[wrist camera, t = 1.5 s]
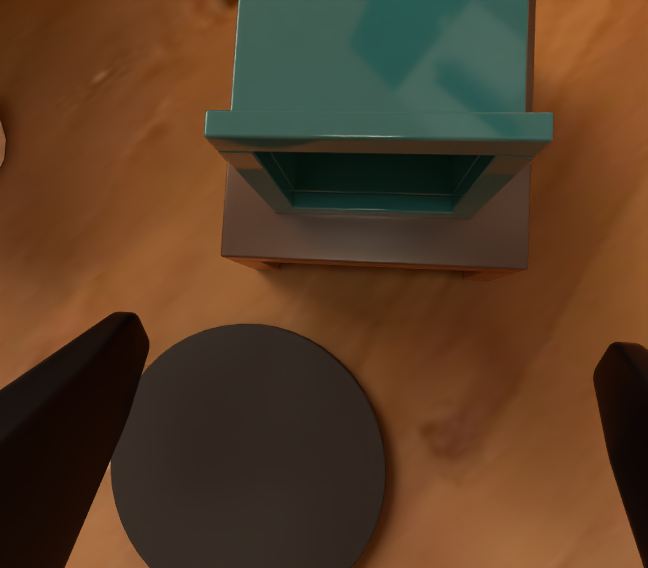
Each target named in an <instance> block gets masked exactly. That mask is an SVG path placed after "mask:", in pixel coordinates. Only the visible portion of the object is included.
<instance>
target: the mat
mask: <svg viewBox="0 0 648 568" xmlns="http://www.w3.org/2000/svg"><path fill="white" fill-rule="evenodd" d="M111 481H112V489H113V494H114V499H115V504H116V507H117V510H118V513H119V517H120V520H121V522H122V525H123V527H124V529H125V531H126V533H127V535H128V538H129V539H130V541H131V543H132V544H133V546H134V547H135V549H136V551H137V552H138V554H139V555H140V556H141V558H142V559H143V560H144V561H145V563H146V564H147V565H148V566H149V567H150V568H351V567H352V566H353V565H354V563H355V562H356V561H357V560H358V558H359V557H360V556H361V554H362V552H363V551H364V549H365V547H366V546H367V544H368V542H369V541H370V539H371V536H372V534H373V532H374V529H375V527H376V525H377V522H378V519H379V515H380V512H381V508H382V504H383V499H384V491H385V484H386V461H385V453H384V445H383V439H382V435H381V431H380V427H379V423H378V420H377V418H376V415H375V413H374V410H373V408H372V405H371V403H370V402H369V400H368V398H367V396H366V394H365V392H364V391H363V389H362V387H361V386H360V385H359V383H358V382H357V381H356V379H355V378H354V376H353V375H352V374H351V373H350V372H349V370H348V369H347V368H346V367H345V366H344V365H343V364H342V363H341V362H340V361H339V360H338V359H337V358H335V357H334V356H333V355H332V354H331V353H329V352H328V351H327V350H326V349H324V348H323V347H321V346H319V345H318V344H316V343H315V342H313V341H311V340H310V339H308V338H305V337H303V336H301V335H299V334H297V333H294V332H292V331H288V330H285V329H282V328H278V327H273V326H267V325H261V324H236V325H227V326H220V327H216V328H212V329H208V330H204V331H202V332H199V333H197V334H194V335H192V336H189V337H187V338H186V339H184V340H182V341H180V342H179V343H177V344H175V345H173V346H172V347H171V348H169V349H168V350H167V351H165V352H164V353H163V354H161V355H160V356H159V357H158V358H157V359H156V360H155V361H154V362H153V363H152V364H151V365H150V366H149V367H148V368H147V369H146V370H145V371H144V373H143V374H142V375H141V378H140V381H139V385H138V388H137V391H136V394H135V398H134V401H133V404H132V408H131V411H130V414H129V416H128V419H127V422H126V424H125V427H124V429H123V432H122V434H121V436H120V439H119V441H118V443H117V446H116V448H115V450H114V453H113V455H112V457H111Z"/></svg>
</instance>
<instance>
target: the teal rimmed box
mask: <svg viewBox="0 0 648 568" xmlns="http://www.w3.org/2000/svg"><path fill="white" fill-rule="evenodd" d="M528 16H529V0H238V11H237V25H236V39H235V53H234V66H233V80H232V94H231V108H230V110H207V111H206V112H205V124H204V137H205V138H206V139H207V140H208V141H209V142H210V143H211V145H212V146H213V147H214V148H215V149H216V150H218V152H219V153H220V154H221V155H222V157H223V158H224V159H225V160H226V161H227V162H228V163H229V164H230V165H231V166H232V167H233V168H234V169H235V170H236V171H237V172H238V173H239V174H240V175H241V177H242V178H243V179H244V180H245V181H246V182H247V183H248V184H249V185H250V186H251V187H252V188H253V189H254V190H255V191H256V192H257V193H258V194H259V196H260V197H261V198H262V199H263V200H264V201H265V202H266V203H267V204H268V205H269V206H270V207H271V208H272V209H273V210H274V211H275V212H276V213H293V214H324V215H354V216H385V217H416V218H446V219H471V218H472V217H473V216H474V215H475V214H476V213H477V212H478V211H479V210H480V209H481V208H482V207H483V206H484V205H485V204H487V203H488V202H489V201H490V200H491V199H492V198H493V197H494V196H495V195H496V194H497V193H498V192H499V191H500V190H501V189H502V188H504V187H505V186H506V185H507V184H508V183H509V182H510V181H511V180H512V179H513V178H514V177H515V176H516V175H517V174H518V173H519V172H520V171H522V170H523V169H524V168H525V167H526V166H527V165H528V164H529V163H530V162H531V161H532V160H533V159H534V158H535V157H536V155H538V154H540V153H541V152H542V151H543V150H544V149H545V148H546V147H547V146H548V145H549V144H550V143H551V142H552V141H553V129H554V114H553V113H551V112H526V82H527V49H528Z"/></svg>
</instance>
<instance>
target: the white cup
mask: <svg viewBox="0 0 648 568" xmlns="http://www.w3.org/2000/svg"><path fill="white" fill-rule="evenodd" d="M5 143H6V138H5V134H4V131H3V127H2V124H1V121H0V167H1V165H2V162H3V160H4V154H5Z"/></svg>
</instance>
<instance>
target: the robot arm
mask: <svg viewBox="0 0 648 568" xmlns="http://www.w3.org/2000/svg"><path fill="white" fill-rule="evenodd" d="M148 351H149V339H148V336H147V334H146V332H145V330H144V328H143V325H142V323H141V321H140V319H139V317H138V315H136V314H135V313H132V312H114V313H112V314H110V315H109V316H107V317H106V318H105V319H103V320H102V321H100V322H99V323H97V324H96V325H94V326H93V327H91V328H90V329H89V330H87V331H86V332H84V333H83V334H81V335H80V336H78V337H77V338H75V339H74V340H72V341H71V342H70V343H68V344H67V345H65V346H64V347H62V348H61V349H59V350H58V351H56V352H55V353H54V354H52V355H51V356H49V357H48V358H46V359H45V360H43V361H42V362H40V363H39V364H37V365H36V366H35V367H33V368H32V369H30V370H29V371H27V372H26V373H24V374H23V375H21V376H20V377H19V378H17V379H16V380H14V381H13V382H11V383H10V384H8V385H7V386H5V387H4V388H2V389H1V390H0V568H65V566H66V563H67V561H68V559H69V556H70V554H71V552H72V549H73V547H74V544H75V542H76V540H77V537H78V535H79V533H80V530H81V528H82V526H83V523H84V521H85V519H86V516H87V514H88V512H89V509H90V507H91V504H92V502H93V500H94V497H95V495H96V493H97V490H98V488H99V486H100V483H101V481H102V479H103V476H104V474H105V472H106V469H107V467H108V465H109V462H110V460H111V457H112V455H113V453H114V450H115V448H116V446H117V443H118V441H119V439H120V436H121V434H122V432H123V429H124V427H125V424H126V422H127V419H128V416H129V414H130V411H131V408H132V404H133V401H134V398H135V394H136V391H137V388H138V385H139V381H140V378H141V375H142V371H143V368H144V365H145V361H146V358H147V355H148ZM593 382H594V387H595V392H596V397H597V402H598V407H599V412H600V417H601V422H602V427H603V432H604V437H605V442H606V447H607V452H608V456H609V460H610V464H611V467H612V470H613V474H614V477H615V480H616V483H617V486H618V489H619V492H620V495H621V498H622V502H623V505H624V508H625V511H626V514H627V517H628V520H629V523H630V526H631V529H632V532H633V536H634V539H635V542H636V545H637V548H638V551H639V554H640V557H641V560H642V563H643V566H644V568H648V350H647V349H646V348H645V347H643V346H642V345H640V344H637V343H628V342H614V343H612V344H610V345H609V347H608V348H607V350H606V352H605V353H604V355H603V357H602V358H601V360H600V361H599V363H598V365H597V366H596V368H595V370H594V375H593Z"/></svg>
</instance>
